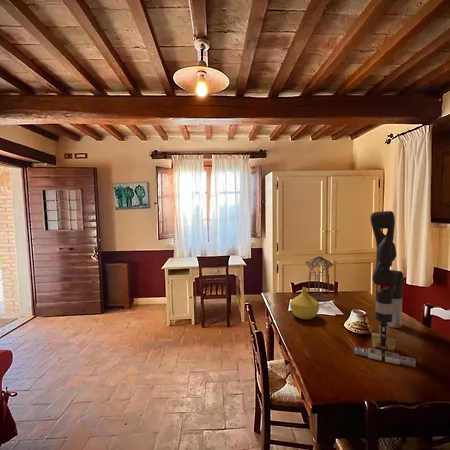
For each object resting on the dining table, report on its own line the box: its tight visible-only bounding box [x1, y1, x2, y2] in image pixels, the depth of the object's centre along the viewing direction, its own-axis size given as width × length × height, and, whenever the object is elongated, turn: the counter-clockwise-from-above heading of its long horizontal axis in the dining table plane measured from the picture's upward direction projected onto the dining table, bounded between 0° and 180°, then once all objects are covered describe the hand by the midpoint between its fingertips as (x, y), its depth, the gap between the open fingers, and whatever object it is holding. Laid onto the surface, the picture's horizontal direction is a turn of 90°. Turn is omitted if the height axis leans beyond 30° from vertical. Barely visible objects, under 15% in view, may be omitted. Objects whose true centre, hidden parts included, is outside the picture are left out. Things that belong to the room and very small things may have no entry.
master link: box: [371, 332, 397, 352], centre depth 142 cm, size 3×10×6 cm, turn 61°
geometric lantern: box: [305, 255, 334, 306], centre depth 212 cm, size 16×16×35 cm
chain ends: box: [353, 346, 417, 368], centre depth 133 cm, size 6×25×3 cm, turn 61°
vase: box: [289, 286, 320, 320], centre depth 185 cm, size 18×18×19 cm
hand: (383, 342), depth 142 cm, fingers open, 7 cm apart
